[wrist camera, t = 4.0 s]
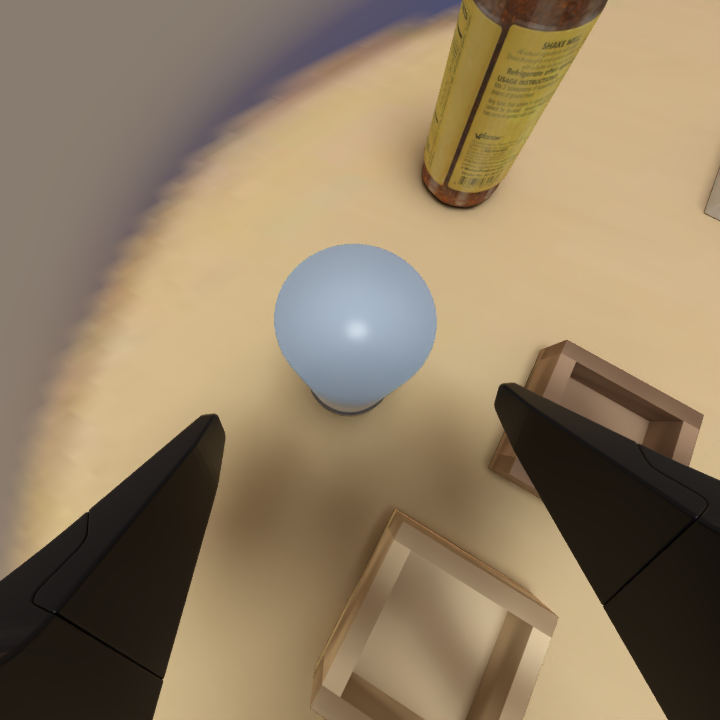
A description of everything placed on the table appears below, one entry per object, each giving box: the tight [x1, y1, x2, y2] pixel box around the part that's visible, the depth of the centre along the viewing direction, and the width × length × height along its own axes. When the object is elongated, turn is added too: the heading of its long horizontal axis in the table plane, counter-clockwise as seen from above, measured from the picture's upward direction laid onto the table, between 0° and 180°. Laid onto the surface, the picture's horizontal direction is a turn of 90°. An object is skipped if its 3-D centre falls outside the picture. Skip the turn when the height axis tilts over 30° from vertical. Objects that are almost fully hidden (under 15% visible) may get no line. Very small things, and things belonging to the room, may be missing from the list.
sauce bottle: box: [423, 0, 608, 207], centre depth 14 cm, size 6×6×20 cm
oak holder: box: [310, 509, 559, 720], centre depth 15 cm, size 9×9×2 cm
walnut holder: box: [489, 340, 704, 499], centre depth 18 cm, size 9×9×2 cm
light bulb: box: [274, 244, 437, 416], centre depth 14 cm, size 5×5×11 cm
